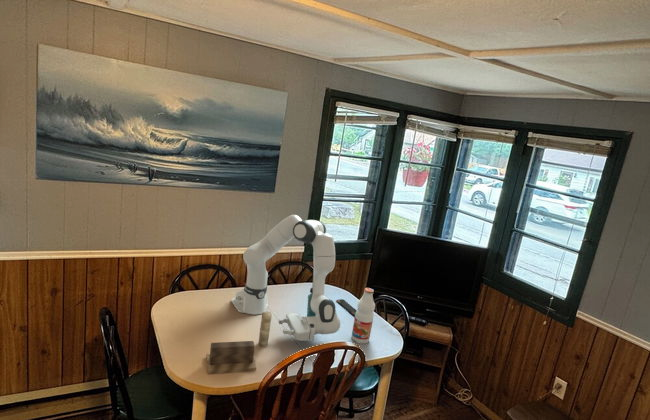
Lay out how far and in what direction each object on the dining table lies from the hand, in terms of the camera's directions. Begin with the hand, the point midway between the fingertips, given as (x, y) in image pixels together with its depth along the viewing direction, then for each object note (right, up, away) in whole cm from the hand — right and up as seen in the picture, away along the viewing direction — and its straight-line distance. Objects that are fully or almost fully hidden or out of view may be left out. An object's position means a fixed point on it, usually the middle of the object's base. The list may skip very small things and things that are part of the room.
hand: (281, 326), depth 198 cm
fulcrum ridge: (-20, -11, -20) cm, 30 cm away
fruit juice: (+40, -12, +18) cm, 45 cm away
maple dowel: (-9, -8, -1) cm, 12 cm away
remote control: (+36, -5, +51) cm, 62 cm away
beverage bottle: (+14, -6, +26) cm, 30 cm away
